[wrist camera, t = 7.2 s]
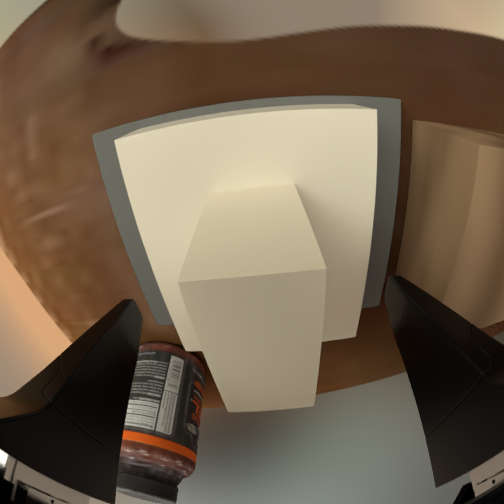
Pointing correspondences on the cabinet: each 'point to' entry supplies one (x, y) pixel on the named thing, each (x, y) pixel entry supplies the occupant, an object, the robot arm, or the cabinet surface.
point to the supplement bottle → (161, 423)
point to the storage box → (456, 219)
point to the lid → (258, 238)
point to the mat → (385, 108)
